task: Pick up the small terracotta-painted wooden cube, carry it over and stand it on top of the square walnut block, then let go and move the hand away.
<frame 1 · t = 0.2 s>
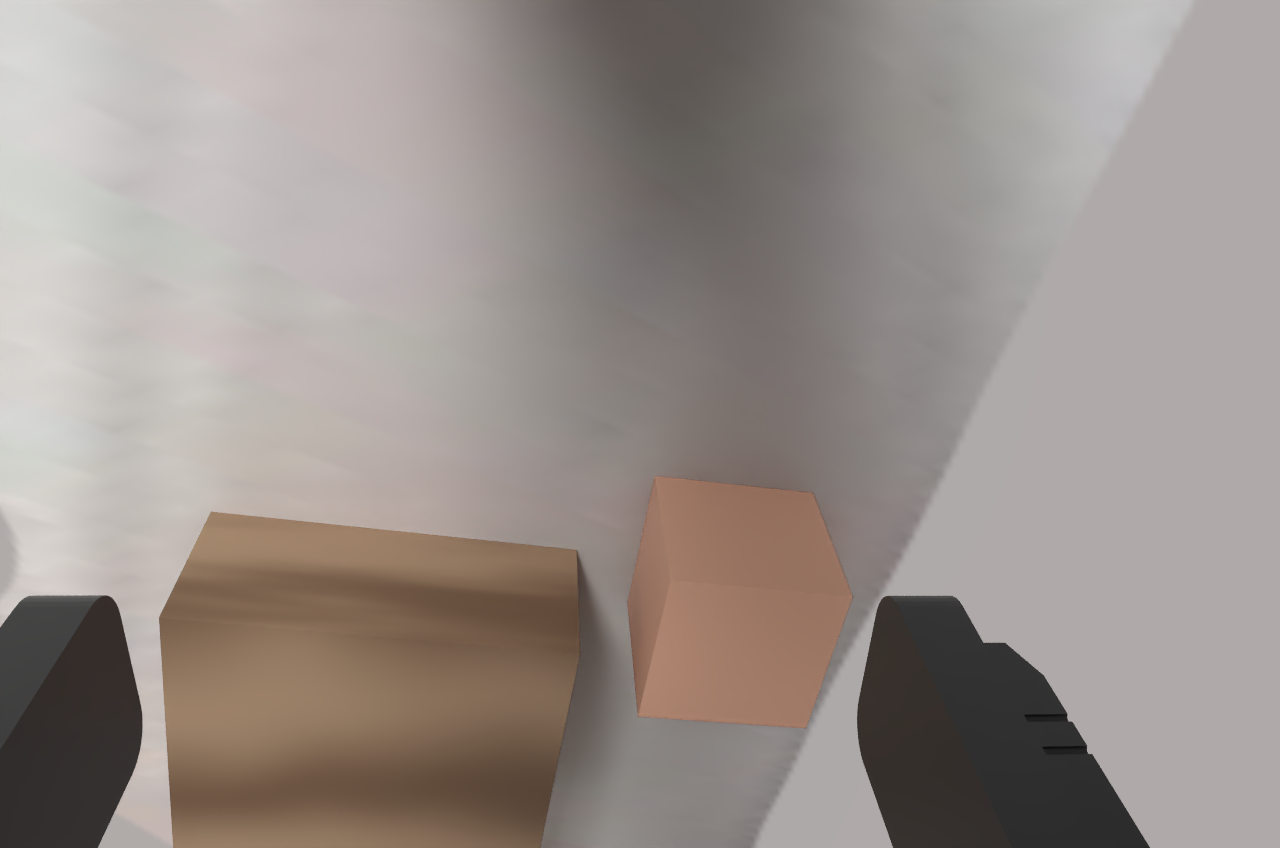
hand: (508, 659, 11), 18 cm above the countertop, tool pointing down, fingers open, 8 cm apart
walnut block: (388, 657, 34), on the countertop
terracotta cube: (717, 547, 33), on the countertop
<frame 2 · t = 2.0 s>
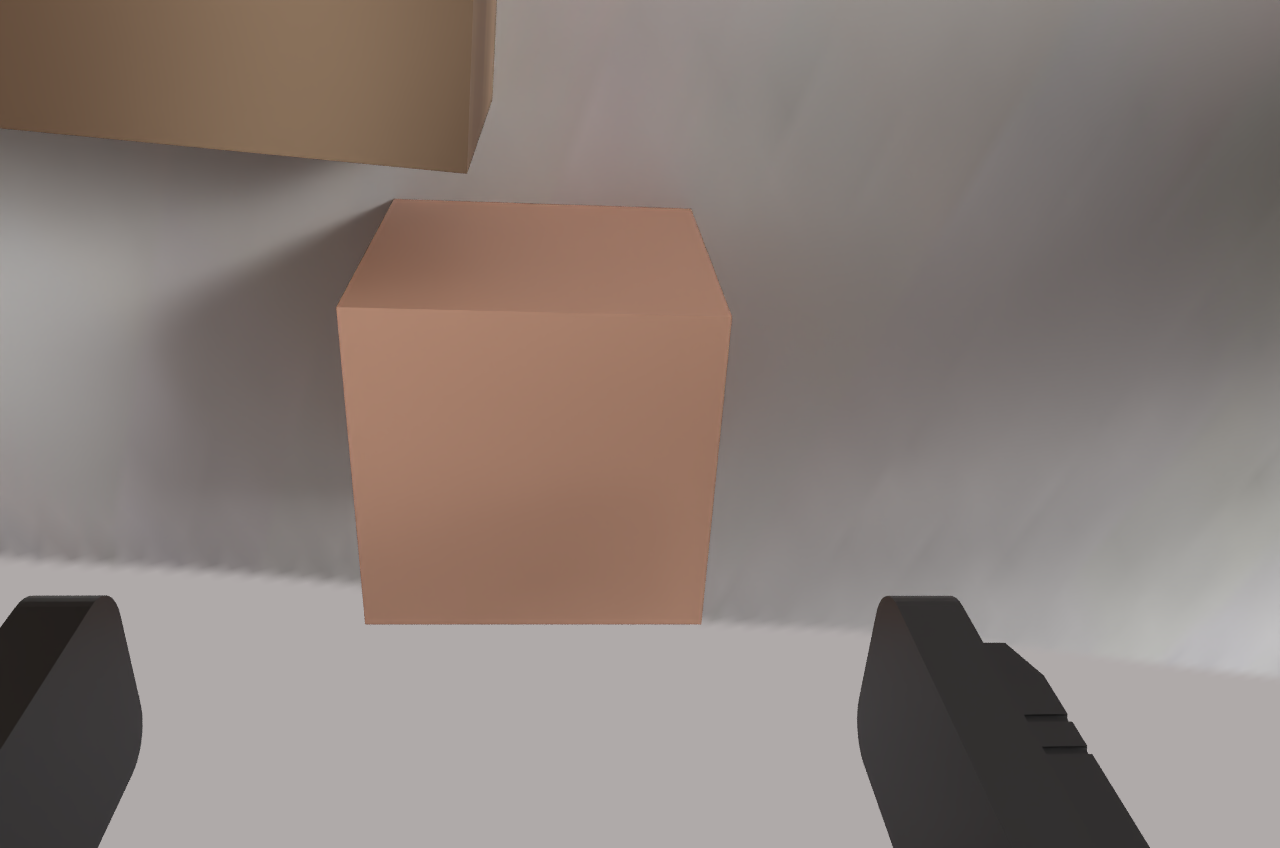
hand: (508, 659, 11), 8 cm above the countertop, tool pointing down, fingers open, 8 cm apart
terracotta cube: (543, 338, 19), on the countertop
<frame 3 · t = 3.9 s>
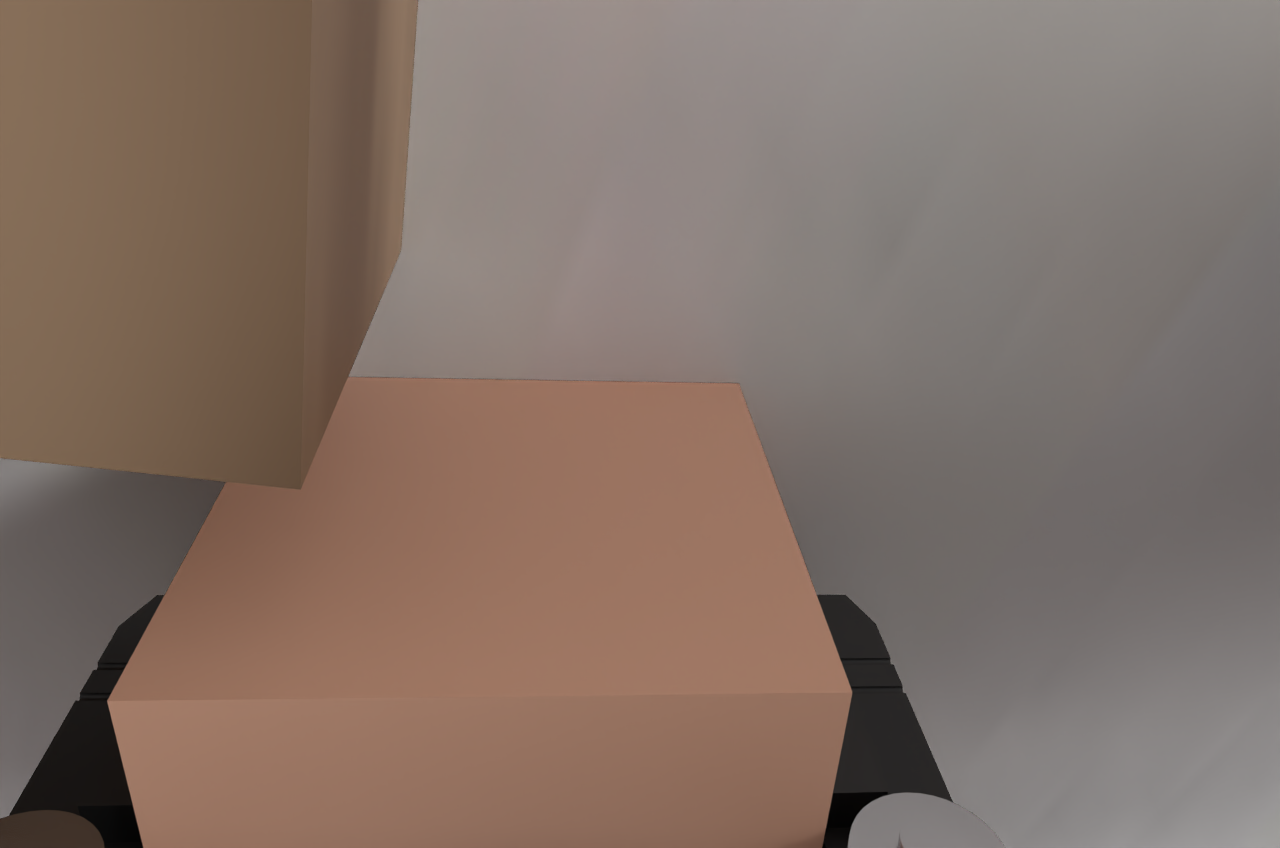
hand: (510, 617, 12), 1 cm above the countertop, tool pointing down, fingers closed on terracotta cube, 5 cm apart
terracotta cube: (516, 565, 13), on the countertop, touching gripper
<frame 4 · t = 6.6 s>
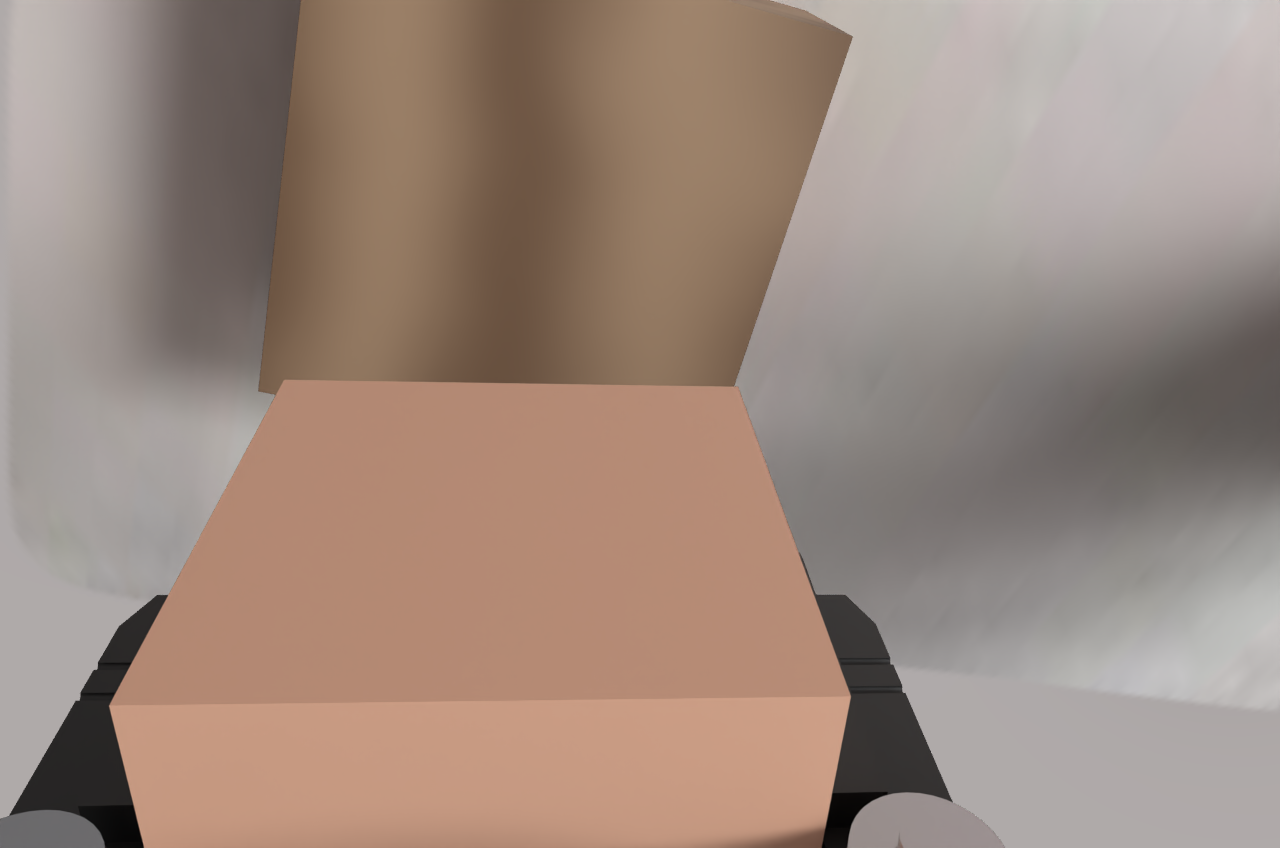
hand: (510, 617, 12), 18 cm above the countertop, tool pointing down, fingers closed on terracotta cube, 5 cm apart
walnut block: (541, 168, 27), on the countertop
terracotta cube: (516, 567, 13), point 17 cm above the countertop, touching gripper
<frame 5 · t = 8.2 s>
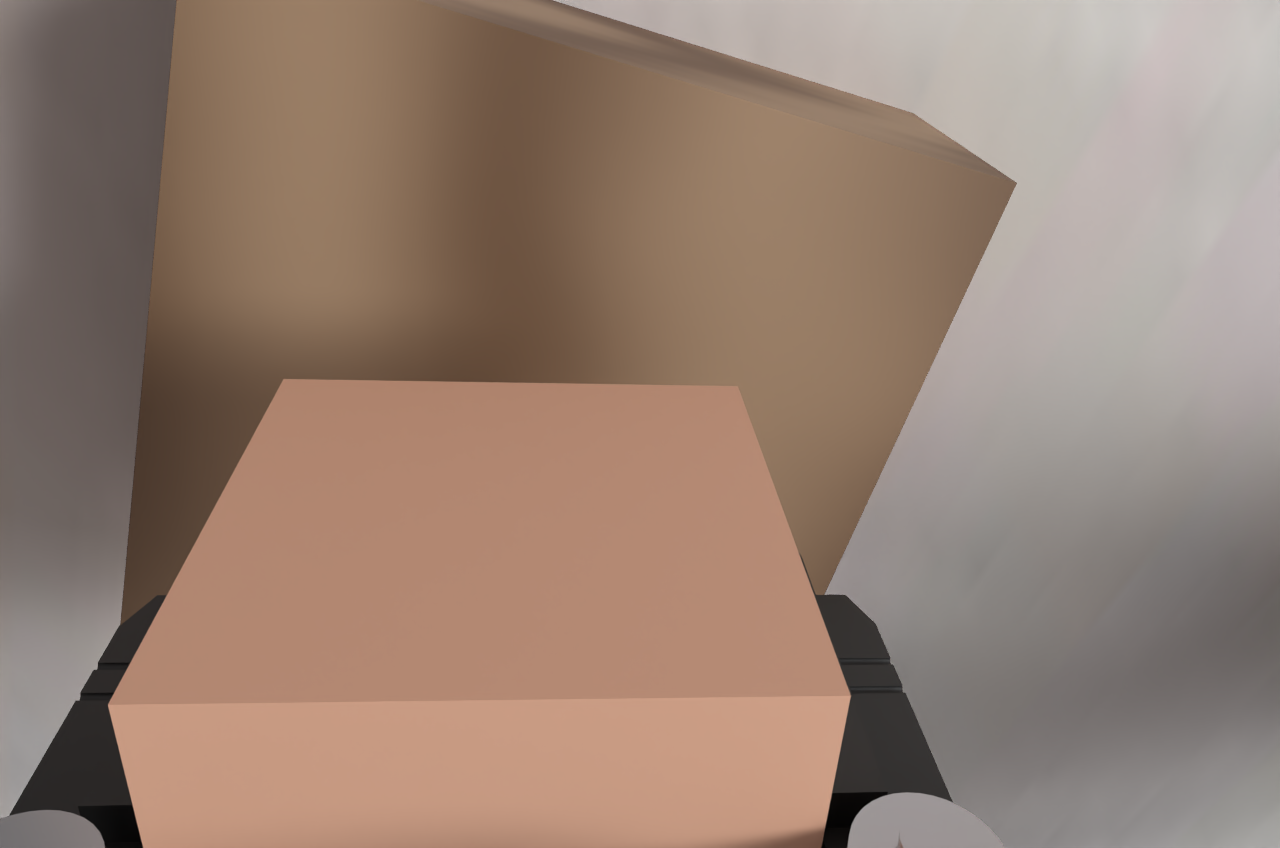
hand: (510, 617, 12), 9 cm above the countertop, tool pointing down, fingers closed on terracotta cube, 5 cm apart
walnut block: (536, 310, 20), on the countertop
terracotta cube: (515, 567, 13), point 8 cm above the countertop, touching gripper
when the fingers open (7 cm above the countertop, at t = 9.5 s): terracotta cube drops 1 cm, resting on walnut block.
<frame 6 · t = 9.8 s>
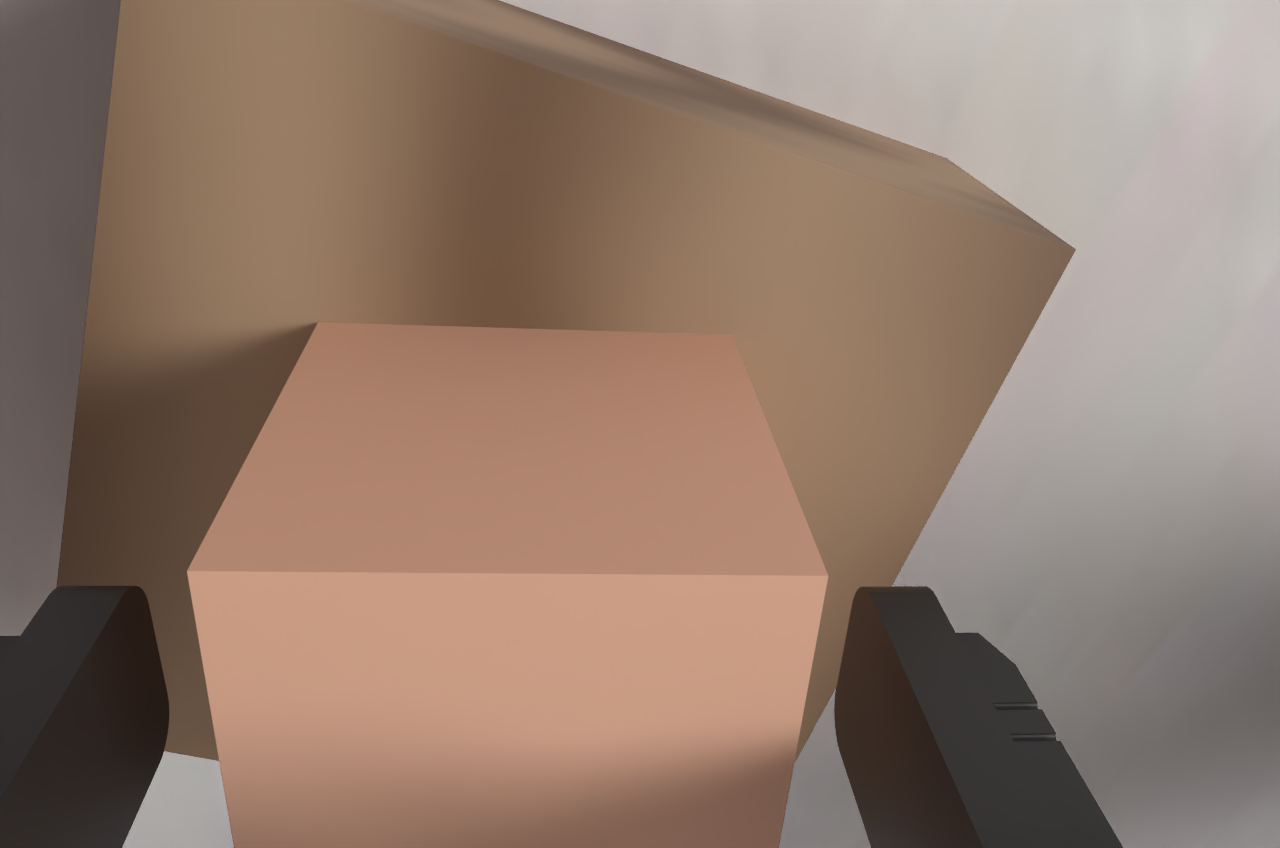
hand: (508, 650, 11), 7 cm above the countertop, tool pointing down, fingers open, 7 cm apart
walnut block: (524, 355, 18), on the countertop, touching terracotta cube
terracotta cube: (526, 503, 14), point 5 cm above the countertop, touching walnut block
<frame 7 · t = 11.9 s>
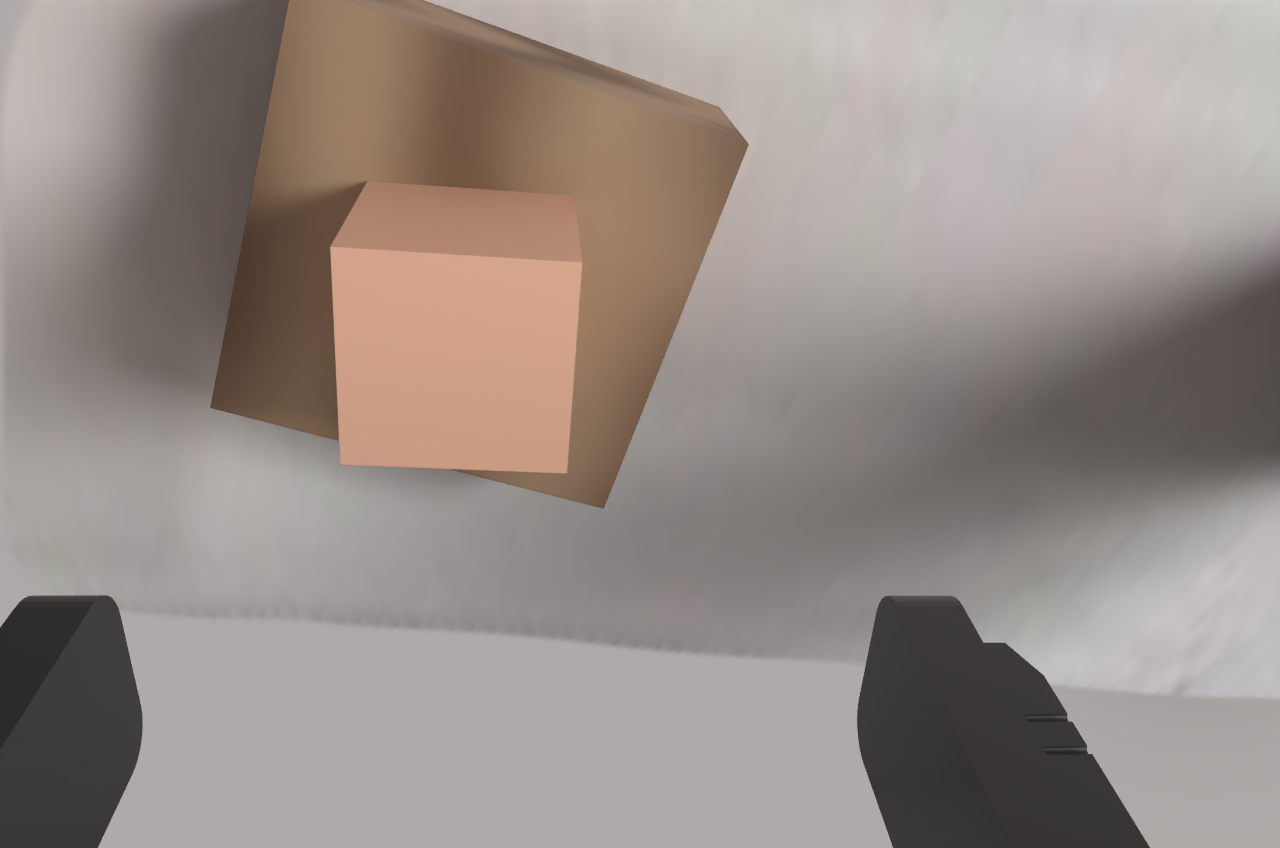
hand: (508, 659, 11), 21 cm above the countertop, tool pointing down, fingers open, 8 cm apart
walnut block: (479, 223, 31), on the countertop
terracotta cube: (470, 285, 26), point 5 cm above the countertop
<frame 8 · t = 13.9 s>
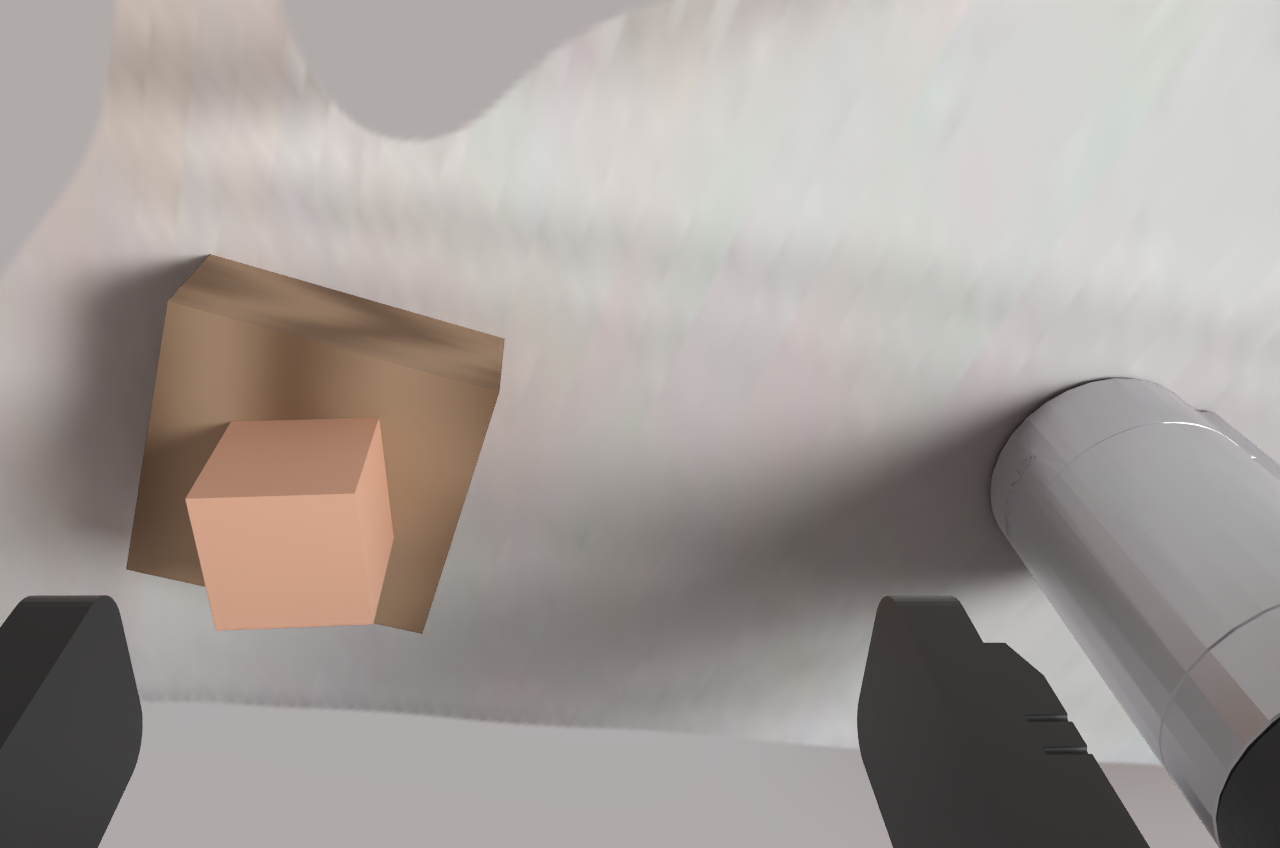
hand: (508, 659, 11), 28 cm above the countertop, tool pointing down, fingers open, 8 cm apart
walnut block: (333, 418, 41), on the countertop
terracotta cube: (315, 481, 37), point 5 cm above the countertop
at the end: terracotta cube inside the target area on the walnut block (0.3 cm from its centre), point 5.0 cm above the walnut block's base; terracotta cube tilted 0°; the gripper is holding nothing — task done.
